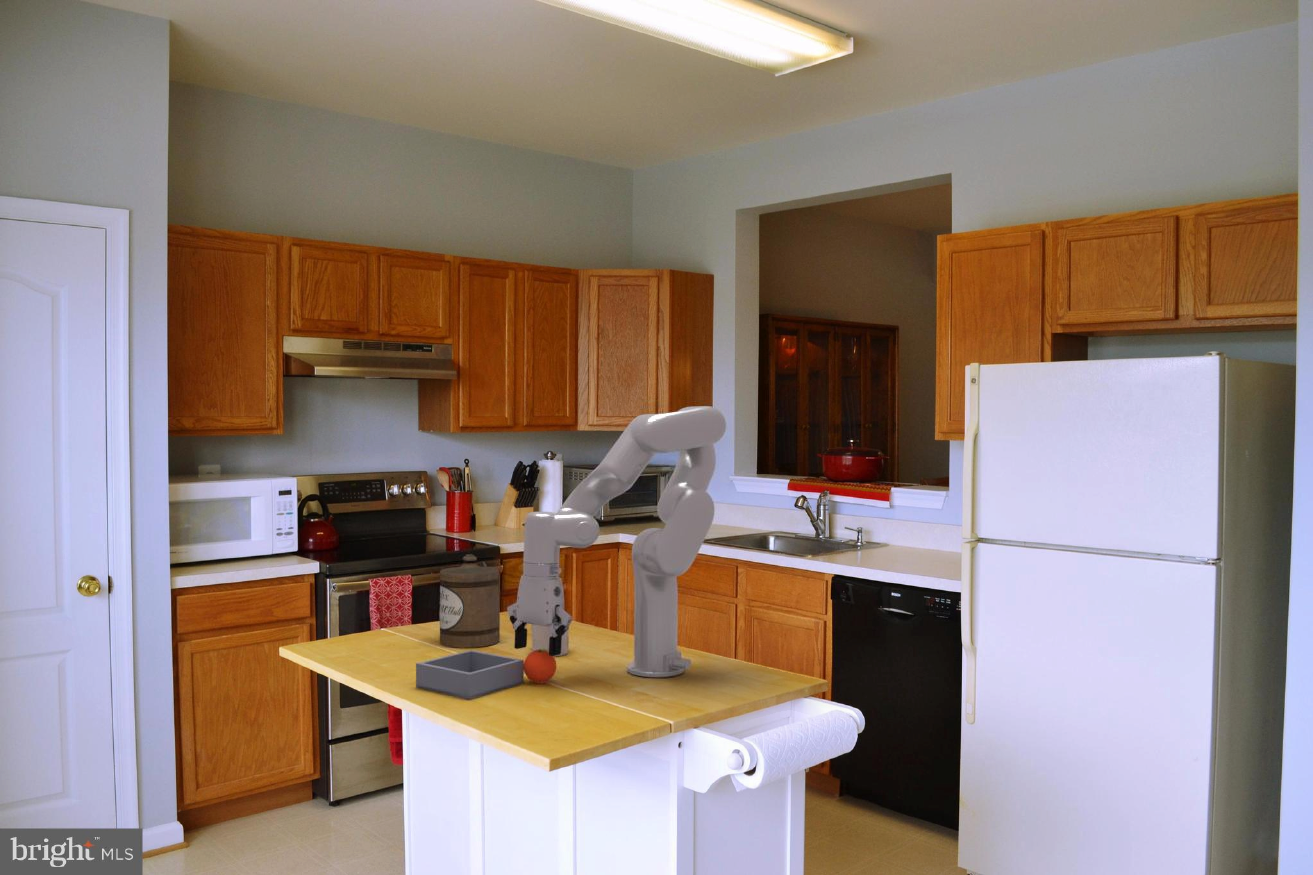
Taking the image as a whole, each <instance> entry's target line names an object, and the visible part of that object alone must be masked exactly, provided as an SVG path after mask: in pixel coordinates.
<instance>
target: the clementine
mask: <svg viewBox="0 0 1313 875" xmlns="http://www.w3.org/2000/svg"><path fill="white" fill-rule="evenodd" d="M556 671H557V661H556V657H553V656H549V652H548V651H547V649H539V650H535V651H533V652H532V651H531V652H530V653H528V655H527V656H526V658H525V659H524V674H525V677H526V678H527V679H528V680H529V681H531V682H532V683H536V684H543V683H546V682H549V681H550V680H551V679H552V678H553V677H554V676H555V673H556Z"/></svg>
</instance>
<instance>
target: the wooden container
mask: <svg viewBox="0 0 1313 875" xmlns="http://www.w3.org/2000/svg"><path fill="white" fill-rule="evenodd" d="M462 560H463V564H462V565H461V566H457V567H456V566H455V567H448V568H443V569H440V570H439V583H440V587H439V592H440V593H439V643H440V645H441V646H445V647H449V648H456V649H457V648H458V649H475V648H474V647H477V648H484V647H489V645H490V646H492V645H493V646H494V645H496V644H498V643H499V642H500V639H501V638H500V637H501V636H500V634H501V632H500V631H501V630H500V629H501V628H500V627H501V626H500V625H501V624H500V623H501V616H500V615H501V614H500V613H501V612H500V583H499V581H500V573H499V568H497V567H491V566H479V565H478V564H477V563H476V561H477V560H478V559H477V556H475V555H474V554H471V553H470V554H469V553H468V554H465V556H463V557H462Z"/></svg>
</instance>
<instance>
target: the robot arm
mask: <svg viewBox="0 0 1313 875" xmlns="http://www.w3.org/2000/svg"><path fill="white" fill-rule="evenodd" d="M726 430H727V421H726V418H725V416H724V414H723V413H722V412H721V411H720V410H719V409H717V408H716V407H713V406H707V405H702V406H701V405H700V406H698V405H697V406H686V407H683V408H680V409H678V410H677V411H673V412H664V413H647V414H646V413H645V414H640V415H637V416H636V417H635V418H633V419H632V420H631V422H630V423H629V424H628V425H627V426H626V427H625V429H624V430H623V431H622V433H621V435H620V436H619V438H618V439H617V440H616V441H615V443H614V444H613V446H612V447H611V448H610V450H609V451H608V452H607V454H605V456H604V458H603V459H602V461H601V462H599V465H597V466H596V468H595V469H593V470H592V471H591V472H590V473H589V474H588V475H587V476H586V477H585V478H584V479H583V480H582V481H581V482H580V483H579V484H578V485H577V486H576V487H575V488H574V489H573V491H572V492H571V493H570V494H569V495H568V497H567V498H566V500H565V501H564V502H563V503H562V505H561V506H560V508H559V509H558V511H557V512H551V511H531V512H529V513H527V514H526V516H525V520H524V540H523V541H524V543H523V560H522V561H523V563H522V575H521V577H520V580H519V583H518V588H517V589H518V590H517V597H516V602H515V603H512V604H511V605H509V606H507V609H506V610H507V613H508V616H509V621H510V622H511V624H512V630H514V646H513V647H514V649H516V650H518V649H523V648H527V644H528V628H526V627H527V625H528V624H530V625H532V624H534V625H539V626H546V627H548V629H549V631H550V633H551V634H552V636H551V637H550V638H549V656H555V655H560V654H561V643H562V636H563V635H564V634H565V632H566V631H567V630H568V629H569V628H570V626H571V623H572V620H573V617H572V615H570V614H569V613H568V612H567V611H566V610H565V597H564V596H565V594H564V586H563V581H562V578H561V577H559V575H561V573H562V570H563V569H562V568H561V567H560V550H561V548H560V547H570V548H575V549H576V548H577V549H584V548H588V547H590V546H592V545H593V544H594V543H595V542H596V541H597V540H598V538H599V536H600V525H599V523H598V521H597V519H595V518H594V517H595V515H596V514H597V513H598V512H599V510H601V509H602V508H603V507H604V506H605V505H606V504H607V503H608V502H609V501H612V500H613V499H615V498H616V497H618V496H621V495H622V494H624V493H626V491H628V490H630V489H632V487H633V486H634V484H635V483H636V481H637V480H638V478H639V477H640V476H641V474H642V473H643V472H644V470H645V468H647V466H648V465H649V463H650V462H651V460H652V459H653V458H654V456H655V455H656V454H667V453H673V452H674V453H675V452H678V459H677V462H676V465H675V468H674V470H673V472H672V474H671V476H670V478H669V480H668V482H667V484H666V486H665V488H664V490H663V492H662V494H661V496H660V498H659V500H658V503H657V508H656V512H657V515H658V518H659V519H660V520H661V522H663V523H664V524H665V525H664V527H663V528H660V527H650V528H646V529H644V530H642V531H641V532H640V533H639V534H638V535H637V536H636V537H635V539H634V541H633V544H632V547H631V561H632V569H633V570H632V571H633V578H634V623H633V624H634V632H633V634H634V636H633V637H634V641H633V643H634V649H633V650H634V652H633V653H634V654H633V656H634V657H633V658H634V661H632V662H629V664H627V667H626V668H627V669H626V671H627V672H628V673H629V674H631V675H633V676H638V677H643V678H669V677H675V676H678V675H681V674H683V673H684V672H685V670H689V669H690V667H691V666H690V665H691V662H692V660H691V659H690V658H683V657H682V651H680V650H678V602H679V600H678V599H679V598H678V596H679V595H678V592H679V590H678V580H677V577H679V576H682V575H683V574H684V573H686V572H687V571H688V570H689V569H690V567H691V566H692V564H693V563H694V562H695V560H696V557H697V555H698V553H699V552H700V549H701V547H702V545H703V543H704V541H705V540H706V537H707V535H708V533H709V531H710V529H711V526H712V524H713V521H714V518H715V512H716V511H715V510H716V509H715V502H714V500H713V498H712V496H711V495H710V493H709V492H708V487H709V486H710V483H711V481H712V479H713V476H714V473H715V470H716V464H717V457H716V451H715V450H716V449H715V446H714V444H716V443H717V442H719V441H721V439H722V438H723V437H724V435H725V433H726ZM554 626H555V627H554ZM555 628H556V629H555ZM569 630H570V629H569Z"/></svg>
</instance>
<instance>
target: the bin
mask: <svg viewBox="0 0 1313 875" xmlns="http://www.w3.org/2000/svg"><path fill="white" fill-rule="evenodd" d="M524 661H525V659H522V658H517V657H511V656H510V657H509V656H504V655H500V654H494V653H489V652H483V651H479V650H473V649H469V650H465V651H462V652H457V653H453V654H449V655H444V656H440V657H436V658H432V659H428V660H425V661H424V660H423V661H421V662H416V663H415V688H416V689H420V690H425V691H429V692H434V693H437V694H438V693H439V694H443V695H447V696H452V697H456V698H461V699H465V700H473V699H477V698H479V697H480V698H481V697H482V696H486V695H490V694H495V693H497V692H500V691H502V690H507V689H510V688H512V687H513V688H514V687H517V686H520V685H523V684H524V682H525V681H524V679H525V678H524V677H525V675H524V674H525V672H524Z"/></svg>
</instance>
